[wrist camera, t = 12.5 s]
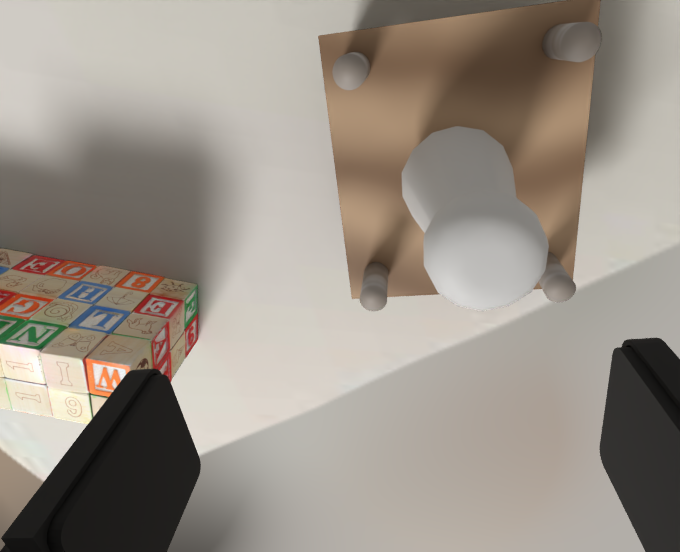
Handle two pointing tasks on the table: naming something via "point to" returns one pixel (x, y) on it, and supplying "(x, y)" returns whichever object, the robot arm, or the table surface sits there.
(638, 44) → the table surface
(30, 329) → the stack of blocks
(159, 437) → the robot arm
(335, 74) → the shelf
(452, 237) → the salt shaker
